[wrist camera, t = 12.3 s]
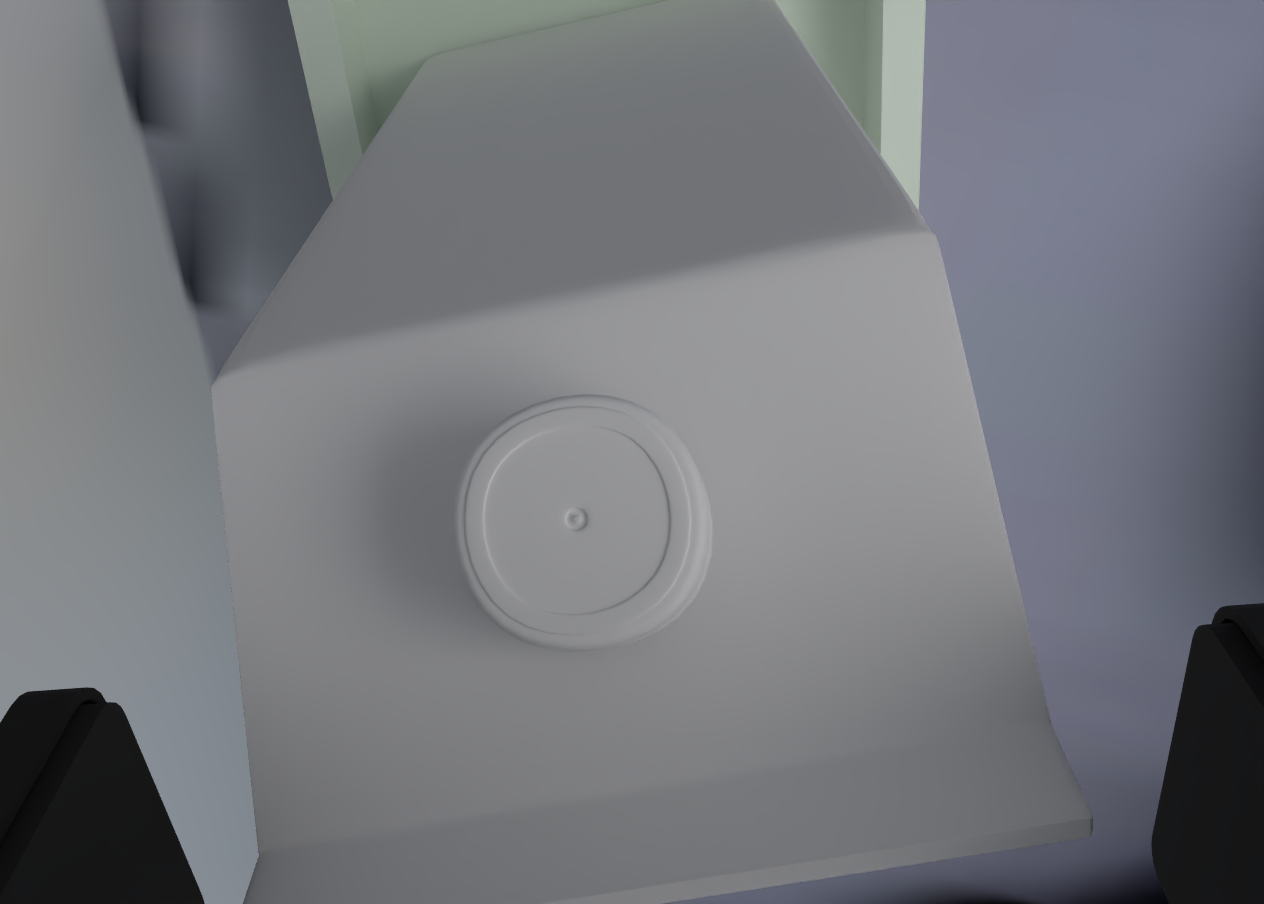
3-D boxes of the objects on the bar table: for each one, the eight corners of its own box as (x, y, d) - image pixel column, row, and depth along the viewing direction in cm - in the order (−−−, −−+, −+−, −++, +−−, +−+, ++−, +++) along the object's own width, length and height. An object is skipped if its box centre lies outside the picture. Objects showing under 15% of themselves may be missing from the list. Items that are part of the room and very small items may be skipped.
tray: (287, -161, 23) (253, -154, 21) (903, -224, 23) (933, -224, 20) (424, 488, 30) (409, 542, 28) (887, 449, 30) (908, 502, 28)
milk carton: (810, 296, 27) (1102, 1091, 11) (514, 356, 28) (366, 1189, 12) (761, -24, 24) (1083, 434, 7) (424, 54, 24) (29, 633, 8)
